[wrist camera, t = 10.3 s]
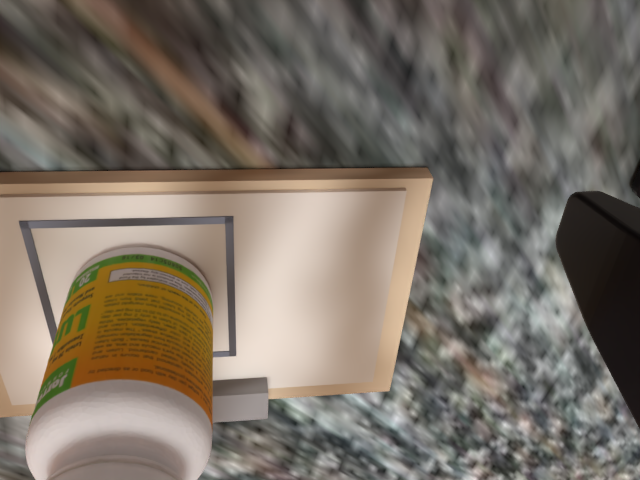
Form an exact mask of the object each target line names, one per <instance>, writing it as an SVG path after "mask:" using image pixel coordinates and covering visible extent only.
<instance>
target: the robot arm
mask: <svg viewBox="0 0 640 480" xmlns="http://www.w3.org/2000/svg"><path fill="white" fill-rule="evenodd" d="M632 191H633V192H634V193H635V194H636V195H637V196H638V197H639V198H640V168H639V170H638V172H637V174H636V177H635V179H634V181H633V184H632ZM556 248H557V252H558V254H559V257H560V259H561V262H562V265H563V267H564V270H565V272H566V275H567V278H568V280H569V283H570V285H571V288H572V291H573V293H574V296H575V298H576V301H577V303H578V306H579V309H580V311H581V314H582V316H583V319H584V321H585V323H586V326H587V328H588V330H589V332H590V334H591V336H592V338H593V340H594V342H595V344H596V346H597V348H598V350H599V352H600V354H601V356H602V358H603V360H604V362H605V364H606V365H607V367H608V369H609V371H610V373H611V375H612V377H613V379H614V381H615V383H616V385H617V386H618V388H619V390H620V392H621V394H622V396H623V398H624V400H625V402H626V404H627V406H628V407H629V409H630V411H631V413H632V415H633V417H634V419H635V421H636V423H637V425H638V427H639V428H640V208H638V207H635V206H633V205H631V204H628V203H626V202H624V201H621V200H619V199H617V198H614V197H612V196H610V195H608V194H605V193H603V192H600V191H586V192H575V193H574V194H572V195H571V196H570V197H569V199H568V201H567V204H566V207H565V210H564V213H563V216H562V219H561V222H560V225H559V228H558V231H557V235H556Z"/></svg>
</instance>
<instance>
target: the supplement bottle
mask: <svg viewBox="0 0 640 480" xmlns="http://www.w3.org/2000/svg"><path fill="white" fill-rule="evenodd" d="M212 421H213V300H212V294H211V291H210V288H209V286H208V283H207V281H206V280H205V278H204V277H203V275H202V274H201V273H200V272H199V271H198V269H196V268H195V267H194V266H193V265H192V264H191V263H189V262H188V261H186V260H185V259H183V258H181V257H179V256H177V255H175V254H172V253H169V252H166V251H163V250H159V249H153V248H145V247H131V248H123V249H117V250H113V251H109V252H107V253H104V254H102V255H100V256H98V257H96V258H94V259H92V260H91V261H90V262H88V263H87V264H86V265H85V266H84V267H83V268H82V269H81V270H80V271H79V272H78V273H77V275H76V276H75V278H74V279H73V282H72V284H71V286H70V289H69V292H68V295H67V298H66V301H65V305H64V308H63V312H62V315H61V319H60V322H59V326H58V329H57V333H56V336H55V340H54V343H53V347H52V350H51V353H50V356H49V359H48V364H47V367H46V371H45V374H44V377H43V381H42V384H41V388H40V391H39V395H38V398H37V402H36V405H35V408H34V412H33V415H32V418H31V422H30V425H29V430H28V435H27V439H26V447H25V449H26V459H27V463H28V466H29V469H30V471H31V473H32V474H33V476H34V478H35V479H36V480H197V479H198V478H199V476H200V475H201V474H202V472H203V470H204V469H205V467H206V465H207V463H208V460H209V457H210V452H211V445H212Z"/></svg>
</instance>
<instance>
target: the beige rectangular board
mask: <svg viewBox="0 0 640 480" xmlns="http://www.w3.org/2000/svg"><path fill="white" fill-rule="evenodd" d="M432 182H433V177H432V175H431V173H430V172H429V170H428V168H335V169H242V170H149V171H55V172H0V417H12V416H27V415H33V412H34V408H35V405H36V402H37V398H38V395H39V391H40V388H41V384H42V381H43V377H44V374H45V371H46V367H47V364H48V359H49V356H50V353H51V350H52V347H53V343H54V340H55V336H56V333H57V329H58V326H59V322H60V319H61V315H62V312H63V308H64V305H65V301H66V298H67V295H68V292H69V289H70V286H71V284H72V282H73V279H74V278H75V276H76V275H77V273H78V272H79V271H80V270H81V269H82V268H83V267H84V266H85V265H86V264H87V263H88V262H90V261H91V260H92V259H94V258H96V257H98V256H100V255H102V254H104V253H107V252H109V251H113V250H117V249H123V248H131V247H145V248H153V249H159V250H163V251H166V252H169V253H172V254H175V255H177V256H179V257H181V258H183V259H185V260H186V261H188V262H189V263H191V264H192V265H193V266H194V267H195V268H196V269H198V271H199V272H200V273H201V274H202V275H203V277H204V278H205V280H206V281H207V283H208V286H209V288H210V291H211V294H212V300H213V421H212V423H214V422H228V421H242V420H255V419H268V399H278V398H293V397H307V396H322V395H337V394H352V393H367V392H381V391H390V386H391V381H392V376H393V371H394V367H395V362H396V357H397V352H398V347H399V342H400V337H401V333H402V328H403V323H404V318H405V313H406V308H407V303H408V299H409V294H410V289H411V284H412V279H413V274H414V269H415V265H416V260H417V255H418V250H419V245H420V240H421V235H422V231H423V226H424V221H425V216H426V211H427V206H428V201H429V197H430V192H431V187H432Z"/></svg>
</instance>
